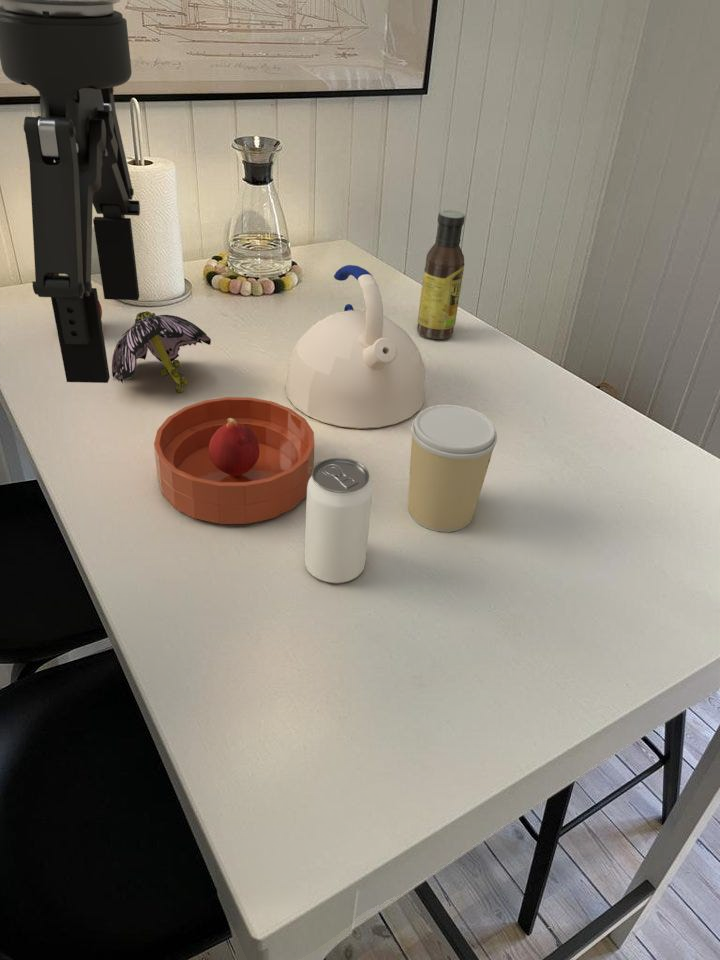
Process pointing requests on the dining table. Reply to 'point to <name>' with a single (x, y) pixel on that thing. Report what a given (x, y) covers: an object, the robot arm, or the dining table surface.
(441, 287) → the sauce bottle
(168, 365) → the purple butterfly
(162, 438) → the bowl
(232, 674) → the dining table surface
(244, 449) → the onion
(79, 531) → the dining table surface
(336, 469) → the can
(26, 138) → the robot arm
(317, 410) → the kettle
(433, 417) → the coffee cup
